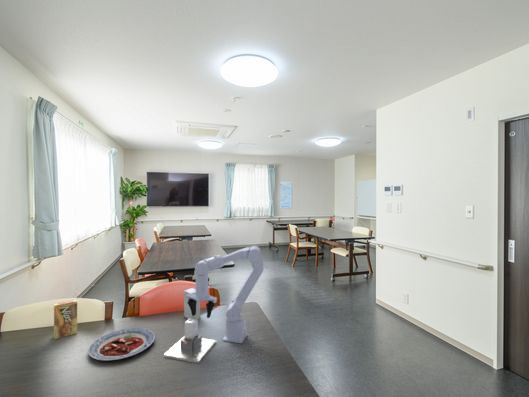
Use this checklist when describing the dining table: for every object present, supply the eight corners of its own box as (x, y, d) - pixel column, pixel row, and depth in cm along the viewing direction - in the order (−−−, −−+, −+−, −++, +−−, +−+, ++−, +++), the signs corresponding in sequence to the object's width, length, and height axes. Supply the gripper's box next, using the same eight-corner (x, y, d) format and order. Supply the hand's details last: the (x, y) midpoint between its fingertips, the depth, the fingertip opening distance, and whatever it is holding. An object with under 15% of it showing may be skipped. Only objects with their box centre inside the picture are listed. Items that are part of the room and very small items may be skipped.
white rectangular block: (197, 338, 118) (198, 319, 118) (193, 343, 114) (193, 323, 114) (189, 337, 119) (189, 318, 119) (184, 342, 115) (184, 322, 115)
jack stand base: (216, 342, 122) (216, 331, 122) (198, 363, 106) (198, 350, 106) (184, 337, 126) (184, 326, 126) (163, 356, 110) (163, 344, 110)
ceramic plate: (128, 369, 103) (128, 361, 103) (72, 360, 108) (72, 353, 108) (166, 335, 128) (166, 329, 128) (119, 330, 133) (119, 324, 133)
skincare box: (200, 318, 146) (200, 290, 146) (190, 321, 142) (190, 293, 142) (192, 313, 152) (193, 287, 152) (183, 316, 148) (183, 289, 148)
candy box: (76, 330, 132) (76, 299, 132) (77, 333, 129) (77, 301, 129) (53, 336, 127) (53, 303, 127) (54, 339, 123) (54, 306, 123)
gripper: (183, 288, 123) (182, 317, 123) (212, 291, 120) (211, 321, 120) (191, 283, 130) (190, 311, 130) (218, 286, 126) (218, 315, 126)
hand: (201, 316), depth 125 cm, fingers open, 7 cm apart
